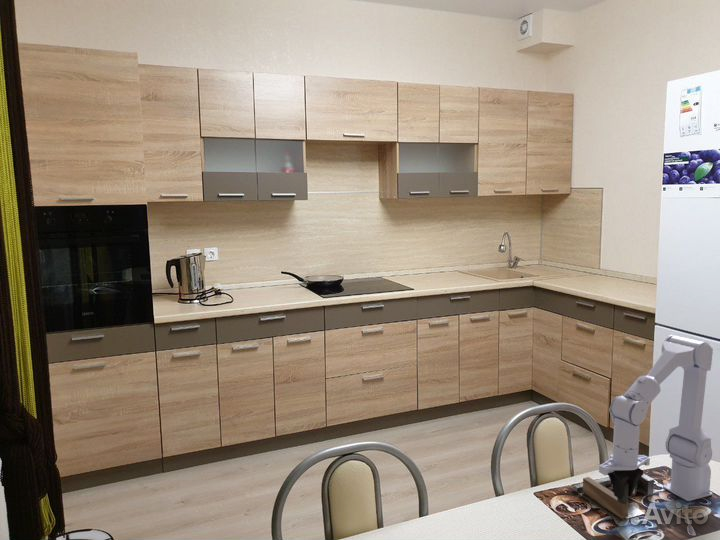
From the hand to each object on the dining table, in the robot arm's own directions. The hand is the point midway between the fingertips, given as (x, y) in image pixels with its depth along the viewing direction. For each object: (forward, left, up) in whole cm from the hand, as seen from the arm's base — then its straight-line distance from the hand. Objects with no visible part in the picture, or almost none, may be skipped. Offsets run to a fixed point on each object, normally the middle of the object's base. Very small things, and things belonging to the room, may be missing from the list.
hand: (622, 495), depth 137 cm
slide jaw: (0, -6, -5) cm, 8 cm away
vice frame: (-8, -7, -6) cm, 12 cm away
